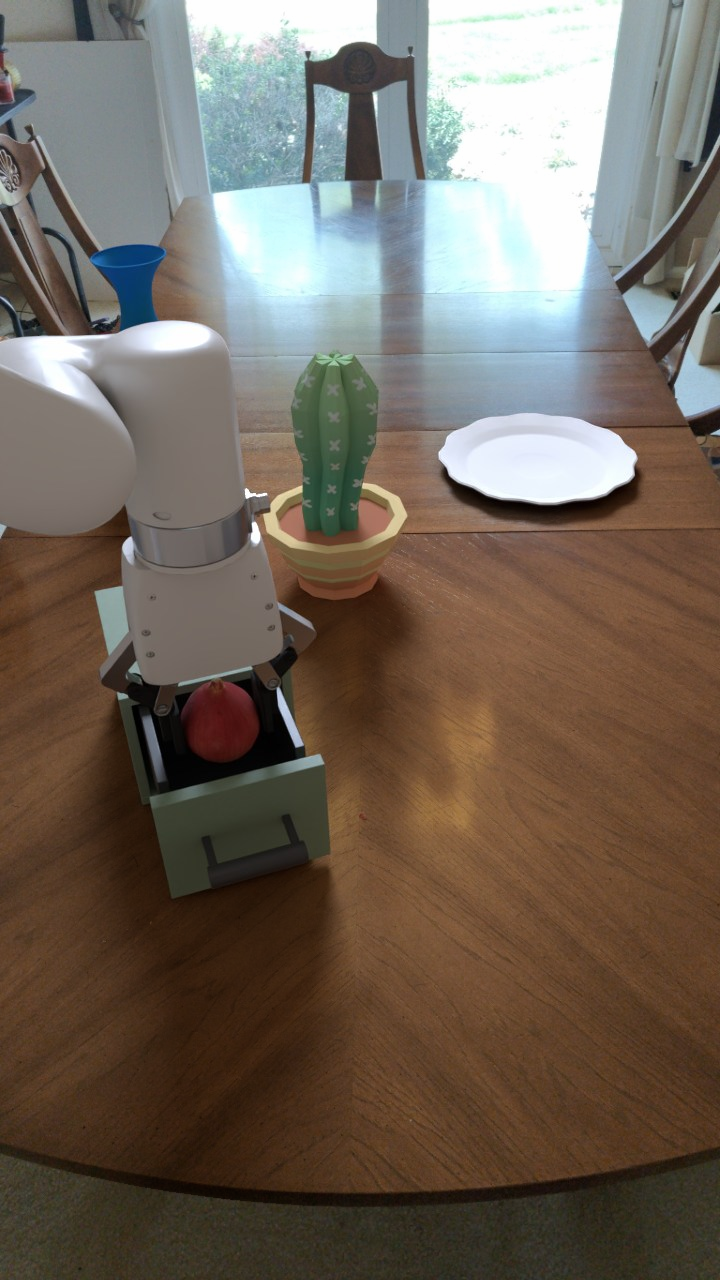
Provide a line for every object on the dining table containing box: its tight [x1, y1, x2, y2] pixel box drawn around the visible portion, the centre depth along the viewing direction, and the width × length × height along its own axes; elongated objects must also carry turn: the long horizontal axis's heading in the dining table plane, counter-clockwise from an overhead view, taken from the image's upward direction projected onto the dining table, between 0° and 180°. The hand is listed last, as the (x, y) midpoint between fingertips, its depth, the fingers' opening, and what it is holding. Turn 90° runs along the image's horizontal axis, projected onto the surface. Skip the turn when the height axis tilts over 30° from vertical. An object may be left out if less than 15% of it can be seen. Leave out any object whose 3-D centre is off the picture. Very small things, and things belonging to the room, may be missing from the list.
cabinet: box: [94, 585, 297, 806], centre depth 86 cm, size 16×14×12 cm
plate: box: [438, 412, 639, 507], centre depth 127 cm, size 25×25×2 cm
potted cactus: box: [262, 349, 409, 601], centre depth 101 cm, size 15×15×25 cm
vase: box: [89, 243, 167, 333], centre depth 120 cm, size 12×13×28 cm
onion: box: [181, 677, 260, 763], centre depth 73 cm, size 6×6×8 cm
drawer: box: [137, 678, 332, 900], centre depth 76 cm, size 19×12×10 cm, turn 19°
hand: (221, 729), depth 73 cm, fingers closed on onion, 5 cm apart
